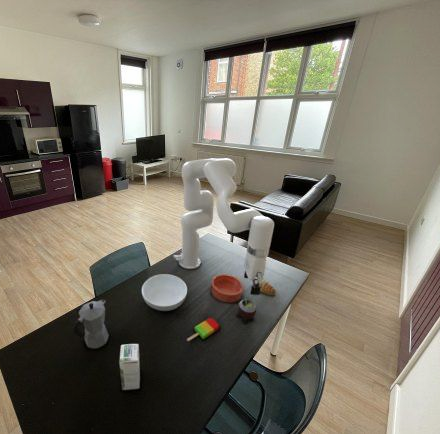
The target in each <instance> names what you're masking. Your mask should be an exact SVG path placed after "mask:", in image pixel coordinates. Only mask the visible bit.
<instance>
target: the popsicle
mask: <svg viewBox="0 0 440 434" xmlns="http://www.w3.org/2000/svg"><path fill="white" fill-rule="evenodd" d="M219 329H220V324H219V323H218V322H217V321H216V320H215V319H214V318H212V317H209V318H207V319H206V320H204V321H202V322H200V323H199V324H198V325H196V326H194V331H195V332H196V333H194V334H192V335H191V336H190V337H188V338H187V339H186V341H187V342H190V341H192V340H193V339H195V338H196V337H198V336H199V337H200V338H201V339H202V340H204V339H206V338H208V337H209V336H210V335H213V334H214V333H216V332H217V331H218V330H219Z"/></svg>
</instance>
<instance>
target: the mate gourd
mask: <svg viewBox="0 0 440 434" xmlns="http://www.w3.org/2000/svg"><path fill="white" fill-rule="evenodd" d="M242 284H243V283H242ZM242 284H241V283H240V285H241V286H242ZM242 288H243V292H242V293H243V295H244V296H243V297H244V299H243V300H241V301H240V302H239V303H238V306H237V317H239V318H242V319H243V323H244V324H247V320H250V321H254V317H255V316H256V313H257V306H256V304H255V303H254V302H253V301H252V300H251V299H247V294H246V289H245V287H244V285H243V286H242Z"/></svg>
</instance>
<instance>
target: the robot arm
mask: <svg viewBox="0 0 440 434" xmlns="http://www.w3.org/2000/svg"><path fill="white" fill-rule="evenodd" d="M237 169H238V167H237V164H236V162H234V160H233V159H231V158H217V157H216V158H205V159H196V160H190V161H187V162H185V163H184V164H183V165H182V167H181V180H182V183H183V207H184V209H185V210H186V211H188V212H187V213H184V214H183V215H182V216H181V218H180V224H181V253H180V254H179V255H176V254H174V255H173V259H175V261H176V262H178V265H179V266H180V267H182V268H184V269H186V270H194V269H198V268H199V267H200V265H201V259H200V258H199V249H200V239H201V237H200V234H199V232H197V230H199V229H203V228H206V227H207V228H208V227H209V226H211V225H212V223H213V219H214V207H215V206H214V202H215V201H214V196H213V193H212V192H210V191H209V190H201V189H202V185H201V181H200V179H204V178H206V179H207V181H208V183H209V184H210V186H211V188H212V189H213V190H214V192H215V194H216V196H217V200H216V212H217V216H218V218H219V220H220V221H221V223H222V225H223V227H224V228H225V229H226V230H227V231H228V232H230V233H231V234H232V233H233V234H237V233H242V232H244V231H249V234H248V239H247V240H248V241H247V247H246V253H245V257H244V262H243V269H244V274H243V278H244V279H248V280H249V281H252V285H251V287H250V293H249V294H250V295H251V296H252V295H253V296H259V295H260V293H261V292H260V289H261V287H262V285H263V280H264V277H265V272H266V271H265V270H266V263H267V257H268V256H269V253H270V248H271V243H272V239H273V233H274V228H275V222H274V220H273V219H271V218H270V217H268V216H264V215H263V214H262V213H261V212H260V211H258V210H256V209H255V208H248V209H244V210H238V211H235V212H234V211H233V210H232V208H231V207H230V205H229V202H228V201H229V198H230V197H232V196H233V195H234V194H235V192H236V191H237V189H238V186H237V184H236V182H235V181H234V179H233V178H234V176H236V174H237V171H238V170H237ZM257 281H258V284H256V282H257Z"/></svg>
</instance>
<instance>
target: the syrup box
mask: <svg viewBox="0 0 440 434" xmlns="http://www.w3.org/2000/svg"><path fill="white" fill-rule="evenodd" d="M140 368H141V367H140V348H139V343H128V344H127V343H126V344H121V345H120V351H119V372H120V382H121V390H122V391H129V390H138V389H140V388H141V385H140V384H141V376H140V375H141V372H140V371H141V369H140Z"/></svg>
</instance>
